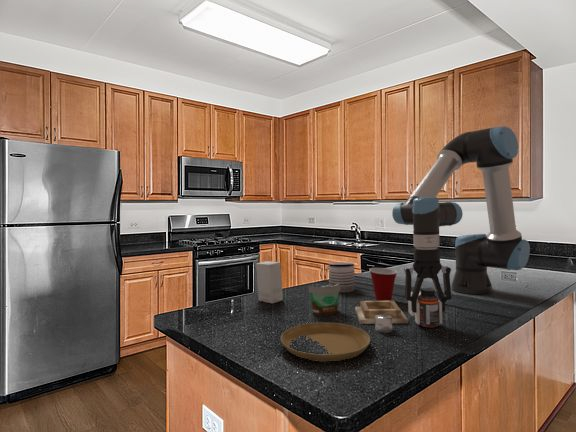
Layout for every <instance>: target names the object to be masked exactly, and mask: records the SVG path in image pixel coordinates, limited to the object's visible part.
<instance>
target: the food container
mask: <svg viewBox="0 0 576 432" xmlns="http://www.w3.org/2000/svg"><path fill="white" fill-rule="evenodd" d="M340 290H341V288H340V285H339V283H338V282H336V284H334V285H329V284H323V285H320V286H311V285H309V288H308V293H310V294H309V295H310V300H311V309H312V314H314V315H316V316H325V317H326V316H332V315H333V316H334V315H335V314H338V310H339V293H340V292H339V291H340Z"/></svg>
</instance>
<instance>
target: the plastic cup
mask: <svg viewBox="0 0 576 432" xmlns="http://www.w3.org/2000/svg"><path fill="white" fill-rule="evenodd" d="M369 272H370V276H371V281H372V287H373V292H374V297H375V301H392V299H393V292H394V287H395V280H396V277H397V274H398V273H399V272H398V270H395V269H393V268H385V267H371V268H369Z"/></svg>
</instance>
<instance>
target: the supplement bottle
mask: <svg viewBox="0 0 576 432" xmlns="http://www.w3.org/2000/svg"><path fill="white" fill-rule="evenodd" d="M420 292H421V295H419V296H418V302H419V309H420V324H418V325H419V326H421V327H422V328H429V329H430V328H431V329H432V328H438V326H439V325H440V323H439V308H438V300H439V297H438V295H436V289H435V288H433V287H422V288H421V289H420Z"/></svg>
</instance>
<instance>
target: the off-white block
mask: <svg viewBox="0 0 576 432" xmlns="http://www.w3.org/2000/svg"><path fill="white" fill-rule="evenodd" d="M412 293H413V291H411V296H412ZM419 295H421V291H420V292H419ZM419 295H418V296H419ZM417 301H418V299H417ZM407 303H408V305H407V307H408V308H407V309H408V313H409V315H410V316H411V317H415V313H413V312H412V309H411V301H408V300H407Z"/></svg>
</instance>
